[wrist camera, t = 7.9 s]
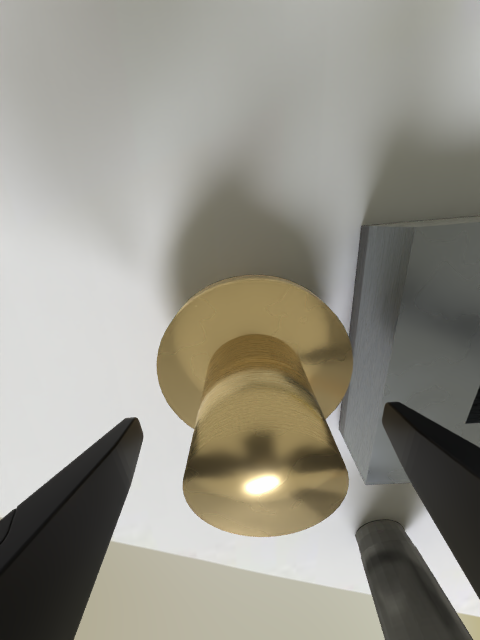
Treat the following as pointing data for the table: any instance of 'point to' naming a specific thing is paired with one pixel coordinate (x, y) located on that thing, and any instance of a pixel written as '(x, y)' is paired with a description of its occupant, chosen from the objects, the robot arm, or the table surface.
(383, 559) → the beverage cup
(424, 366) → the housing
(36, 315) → the table surface
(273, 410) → the end cover
